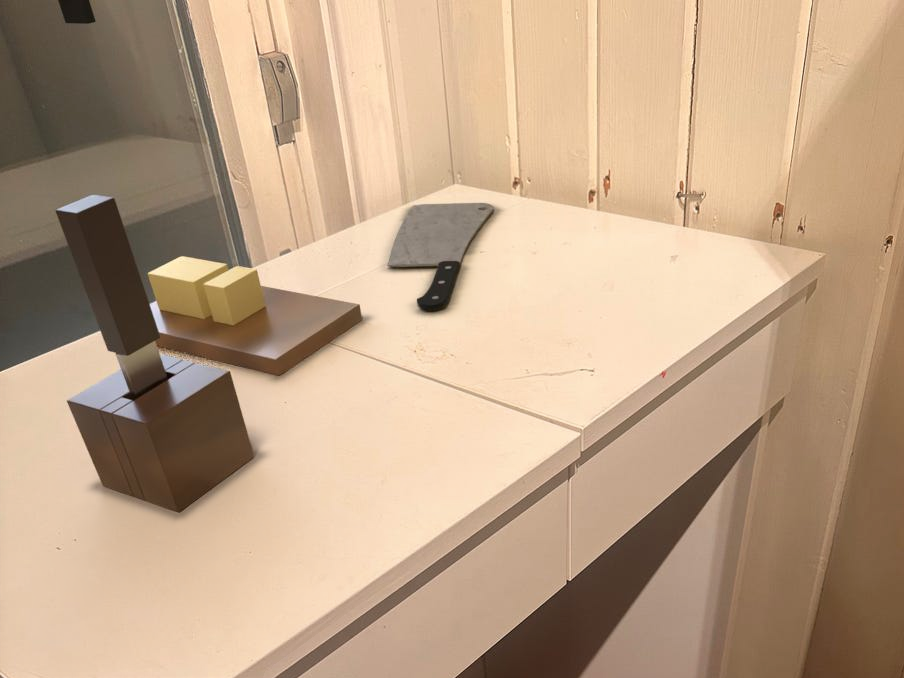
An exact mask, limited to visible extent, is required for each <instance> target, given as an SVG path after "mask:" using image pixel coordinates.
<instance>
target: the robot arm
mask: <svg viewBox="0 0 904 678" xmlns="http://www.w3.org/2000/svg"><path fill="white" fill-rule="evenodd" d="M57 1H58V4H59V7H60V10H61V14H62V16H63V19H64V23H65V24H81V25H83V24H84V25H88V24H89V25H90V24H93V23H95V22H97V20H96V17H95V15H94V12H93V8H92V6H91V5H92V4H91V1H90V0H57Z"/></svg>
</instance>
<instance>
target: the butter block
mask: <svg viewBox="0 0 904 678" xmlns="http://www.w3.org/2000/svg"><path fill="white" fill-rule="evenodd" d="M228 270H230V269H229V266H228V264H227V263H223V262H217V261H212V260H207V259H206V260H205V259H200V258H196V257H195V258H194V257H190V256H189V257H188V256H185V255H184V256H183V255H180V256H179V257H177V258H175V259H173V260H170V261H169V262H167V263H165V264H163V265H161V266H159V267H157V268H155V269H153V270H151V271H149V272H147V276H148V280H149V282H150V285H151V289H152V292H153V295H154V297H155V301H157V304H158V307H159V310H164V311H168V312H173V313H178V314H182V315H187V316H191V317H196V318H201V319H206V318H207V317H209V316H211V315H212V313H211V310H210V306H209V303H208V299H207V296H206V292H205V289H204V285H203V284H204V283H206V282H208V281H210V280H212V279H214V278H215V277H217V276H219V275H221V274H223V273H225V272H226V271H228Z"/></svg>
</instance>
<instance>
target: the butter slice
mask: <svg viewBox="0 0 904 678" xmlns="http://www.w3.org/2000/svg"><path fill="white" fill-rule="evenodd" d="M203 285H204V289H205V292H206V296H207V299H208V303H209V306H210V310H211V313H212V317H213V320H214V322H219V323H223V324H228V325H233V326H234V325H235V324H237V323H239V322H241V321H242V320H244V319H246V318H247V317H249V316H251V315H252V314H254V313H256V312H257V311H259V310H261V309H262V308H264V307H266V305H265V301H264V297H263V293H262V289H261V286H262V285H261V281H260V277H259V273H258V269H256V268H251V267H246V266H240V265H235V266H234V267H232V268H230V269H229V270H228V271H226V272H225V273H223V274H221V275H219V276H217V277H215V278H214V279H212V280H210V281H208V282H206V283H204V284H203Z"/></svg>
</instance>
